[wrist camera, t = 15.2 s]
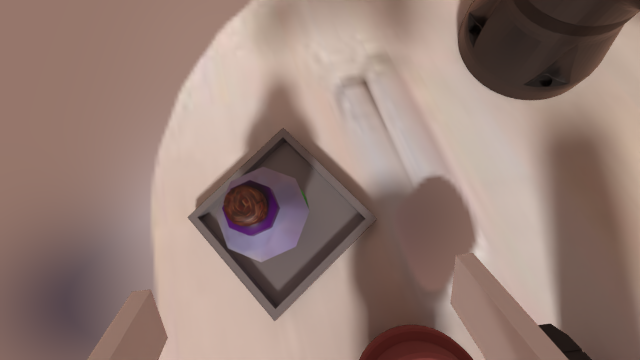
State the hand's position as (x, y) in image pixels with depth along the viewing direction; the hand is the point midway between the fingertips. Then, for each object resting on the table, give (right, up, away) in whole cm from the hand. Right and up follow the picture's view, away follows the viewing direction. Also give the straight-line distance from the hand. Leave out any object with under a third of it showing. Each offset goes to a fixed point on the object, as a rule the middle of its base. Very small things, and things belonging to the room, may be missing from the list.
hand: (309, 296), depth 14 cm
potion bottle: (-4, +1, +21) cm, 22 cm away
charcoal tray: (-4, +1, +22) cm, 22 cm away
